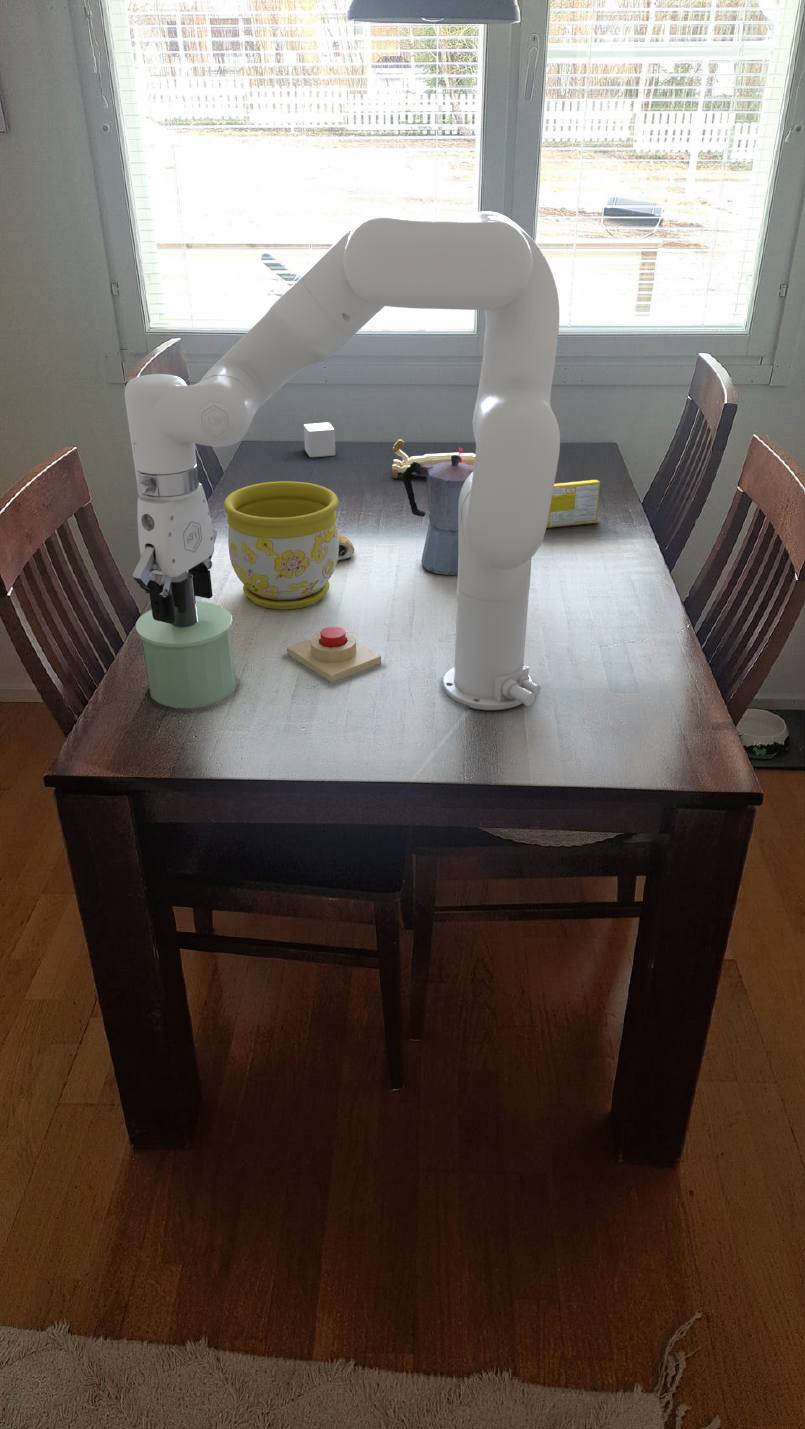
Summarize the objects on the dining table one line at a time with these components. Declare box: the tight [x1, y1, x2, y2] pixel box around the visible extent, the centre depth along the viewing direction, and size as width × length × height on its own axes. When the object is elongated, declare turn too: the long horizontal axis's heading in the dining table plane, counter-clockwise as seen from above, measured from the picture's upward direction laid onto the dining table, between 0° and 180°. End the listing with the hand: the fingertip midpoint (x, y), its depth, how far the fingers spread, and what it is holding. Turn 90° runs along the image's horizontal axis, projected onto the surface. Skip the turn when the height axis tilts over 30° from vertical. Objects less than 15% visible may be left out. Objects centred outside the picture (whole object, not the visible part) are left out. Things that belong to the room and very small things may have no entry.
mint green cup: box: [140, 628, 237, 709], centre depth 138 cm, size 12×12×10 cm
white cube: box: [303, 422, 336, 458], centre depth 233 cm, size 6×6×6 cm
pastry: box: [337, 533, 355, 562], centre depth 182 cm, size 9×7×4 cm
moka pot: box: [402, 455, 474, 576], centre depth 173 cm, size 10×15×20 cm, turn 78°
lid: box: [135, 571, 234, 647], centre depth 134 cm, size 13×13×8 cm
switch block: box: [286, 631, 382, 683], centre depth 147 cm, size 11×9×4 cm
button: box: [319, 626, 346, 648], centre depth 146 cm, size 4×4×2 cm
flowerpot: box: [223, 480, 339, 611], centre depth 164 cm, size 18×18×16 cm
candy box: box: [546, 479, 601, 529], centre depth 193 cm, size 16×2×8 cm, turn 105°
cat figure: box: [391, 439, 475, 479], centre depth 218 cm, size 10×9×25 cm
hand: (183, 607), depth 134 cm, fingers open, 7 cm apart
